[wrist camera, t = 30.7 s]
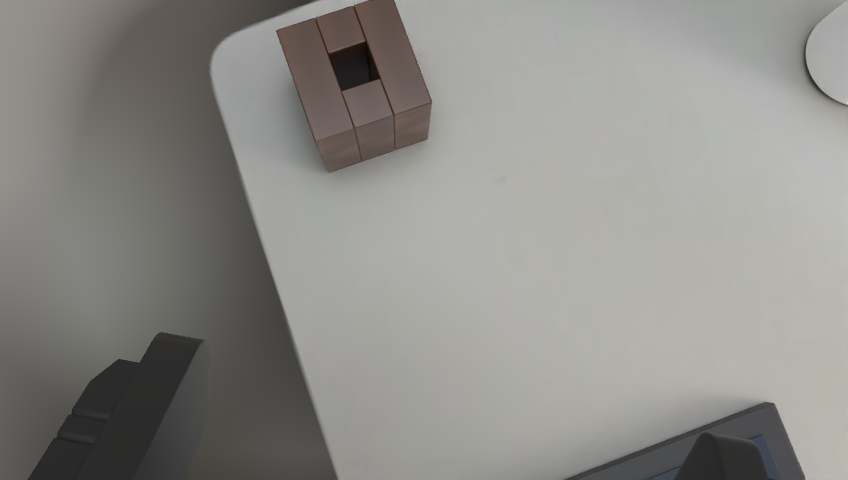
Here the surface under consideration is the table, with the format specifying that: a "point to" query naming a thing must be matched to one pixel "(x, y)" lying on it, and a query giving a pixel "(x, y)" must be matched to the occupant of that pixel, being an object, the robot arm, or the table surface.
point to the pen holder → (358, 82)
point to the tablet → (658, 465)
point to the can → (830, 54)
